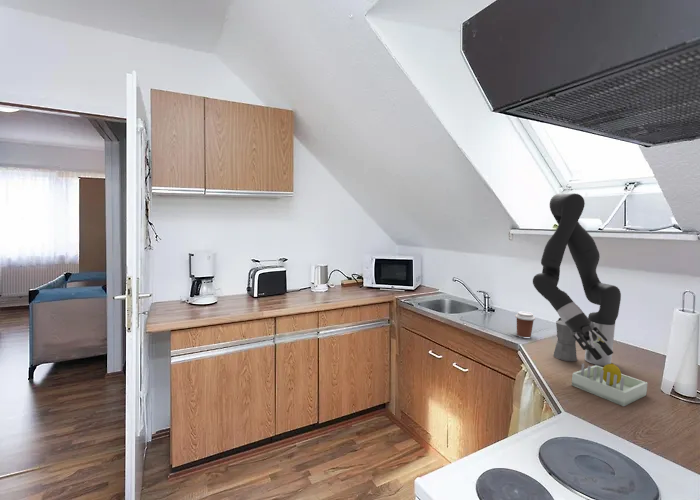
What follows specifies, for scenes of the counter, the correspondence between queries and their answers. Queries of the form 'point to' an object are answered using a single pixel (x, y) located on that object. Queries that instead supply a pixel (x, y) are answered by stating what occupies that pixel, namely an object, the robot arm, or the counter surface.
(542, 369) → the counter surface
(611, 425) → the counter surface
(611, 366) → the lemon
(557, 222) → the robot arm
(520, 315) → the coffee cup
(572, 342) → the coffeepot
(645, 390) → the dish rack
